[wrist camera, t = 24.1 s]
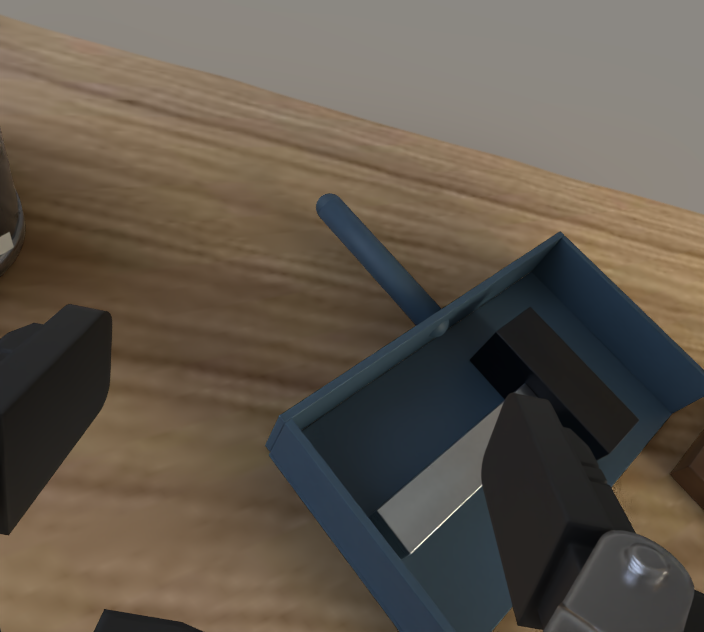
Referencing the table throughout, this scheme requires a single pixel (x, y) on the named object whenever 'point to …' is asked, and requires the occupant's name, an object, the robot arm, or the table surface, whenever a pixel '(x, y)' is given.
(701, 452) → the stand
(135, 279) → the table surface
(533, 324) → the t-shaped mallet
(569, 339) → the scoop
